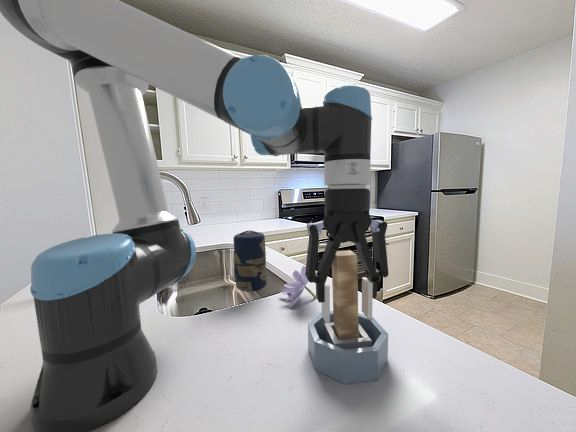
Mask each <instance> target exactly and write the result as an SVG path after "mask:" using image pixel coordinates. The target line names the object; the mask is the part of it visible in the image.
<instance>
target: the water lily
mask: <svg viewBox="0 0 576 432" xmlns="http://www.w3.org/2000/svg"><path fill="white" fill-rule="evenodd" d="M305 272H306V265H302V267H301V268H300V272H299V271H298V270H296V269H295V270H294V271H293V272H292V275H291V276H292V279H293V281H294V282H289V283H285V284H284V285H283V287H285V288H283V289H282V291H281V292H279V293H278V294H279V295H288V294H290V295H289V296H288V297H287V298H286V301H290V300H291V299H292V300H291V301H290V303H289V305H288V309H291V308H292V307H293V306H294V305H295V304H296V303H297V301H298V300H299V299H300V298H301V296H302V294H303V292H304V290H305V289H306V291H308V293H309V294H310V295H311V296H312V297H313V298H314V300H317V297H316V294H315V293H314V292H313V291H312V290H310V288H308V287H307V286H306V285H307V284H308V283H309V281H308V279H307V278H306V276H305Z"/></svg>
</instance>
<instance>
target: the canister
mask: <svg viewBox="0 0 576 432" xmlns="http://www.w3.org/2000/svg"><path fill="white" fill-rule="evenodd" d="M233 249H234V250H233V251H234V252H233V253H234V254H233V255H234V272H235V273H234V274H235V287H236V288H237V290H239V291H240V292H245V293H249V292H250V293H252V292H257V291H261V290H262V289H264V288H265V287H266V286H267V262H266V260H267V255H266V254H267V253H266V252H267V251H266V238H265V234H264V233H262V232H259V231H255V230H245V231H243V232H240V233H237V234H235V235H234V236H233Z"/></svg>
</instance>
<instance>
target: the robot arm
mask: <svg viewBox="0 0 576 432" xmlns="http://www.w3.org/2000/svg"><path fill="white" fill-rule="evenodd" d="M0 15H2V16H3V17H4V19H6V21H7V22H8V23H9V24H10V25H11V26H12V27H13V28H14V29H15V30H16V31H17V32H19V33H21V35H23V36H24V37H26V38H27V39H28V40H30V41H32V42H33V43H34V44H36V45H37V46H39V47H40V48H43V49H45V50H47V51H49V52H51V53H52V54H55V55H57V56H59V57H61V58H62V59H64V60H66V61H68V62H69V64H70V65H71V69H72V74H73V77H74V81H75V84H76V85H77V86H78V87H79V89H82V90H83V91H84V92H86V93H88V96H89V100H90V103H91V108H92V109H91V110H92V112H93V116H94V121H95V125H96V128H97V131H98V132H97V133H98V137H99V141H100V145H101V149H102V150H101V151H102V153H103V158H104V161H105V162H104V163H105V165H106V169H107V173H108V178H109V182H110V186H111V190H112V194H113V200H114V203H115V207H116V211H117V215H118V219H119V220H118V222H117V224H116V225H115V226H114V227H113V229H112V230H111V232H112V233H103V234H94V235H91V236H88V237H80V238H76V239H71V240H68V241H64V242H62V243H59V244H56V245H54V246H51V247H49V248H47V249H46V250H44V251H42V252H40V253H39V254H38V255H37V256H36V257H35V258H34V260H33V261H32V263H31V266H30V273H31V274H30V277H31V278H30V279H31V282H30V283H31V286H30V288H29V289H30V294H31V296H32V297H33V302H34V309H35V315H36V322H37V323H36V324H37V329H38V335H39V336H38V337H39V343H40V348H41V349H40V350H41V356H42V365H41V369H40V371H39V375H38V379H37V382H36V385H35V389H34V392H33V396H32V397H33V398H32V400H31V403H30V417H31V422H32V424H31V425H32V428H33V429H34V432H89V431H91V430H94V429H96V428H99V427H101V426H103V425H105V424H108V423H109V422H111V421H113V420H114V419H116V418H117V417H119V416H121V415H123V414H124V413H126V412H127V411H128V410H130V409H131V408H132V407H134V406H135V405H136V404H137V403H138V402H139V401H140V400H141V399H142V398H144V396H145V395H146V394H147V393H148V392H149V391H150V389H151V388H152V386H153V384H154V383H155V380H156V378H157V374H158V363H157V356H156V353H155V352H154V350H153V348H152V346H151V344H150V342H149V340H148V339H147V337H146V335H145V334H144V333H145V332H143V330H142V323H141V312H140V310H141V309H140V305H141V304H142V303H144V302H146V301H147V300H149V299H150V298H152V297H154V296H155V295H157V294H158V293H160V292H161V291H163V290H165V289H166V288H167V289H168V287H171V286H172V285H175V284H177V283H178V282H180V281H181V280H182V279H183V278H184V277H185V276H186V275H187V274H188V273H189V272H190V271H191V269H192V267H193V266H194V264H195V260H196V257H197V250H196V244H195V242H194V239H193V237H192V236H191V234H189V233H187V231H186V230H184V229H183V228H181V224H180V222H179V221H180V220H179V218H178V217H177V216H176V215H174V214H172V213H171V212H170V210H169V207H168V204H167V200H166V195H165V192H164V186H163V184H162V183H163V182H162V178H161V173H160V169H159V164H158V161H157V155H156V152H155V151H156V150H155V147H154V142H153V138H152V134H151V133H152V132H151V128H150V124H149V119H148V115H147V111H146V107H145V101H144V98H143V95H144V94H145V93H147V91H148V90H149V86H152V87H154V88H156V89H158V90H160V91H162V92H164V93H166V94H169V95H171V96H172V97H174V98H176V99H179V100H180V101H183V102H184V103H187V104H188V105H190V106H193V107H195V108H196V109H199V110H200V111H203V112H204V113H207V114H209V115H211V116H213V117H215V118H217V119H218V120H221V121H223V122H224V123H226V124H228V125H230V126H232V127H234V128H236V129H238V130H239V131H242V132H244V133H246V134H248V135H249V136H250V139H251V144H252V146H253V149H254V151H255V153H256V154H258V155H260V156H274V157H278V156H287V155H303V154H321V153H323V156H324V158H323V159H324V160H323V161H324V163H323V164H324V168H323V170H324V172H323V174H324V181H323V182H324V183H323V184H324V186H326V187H327V189H325V191H324V195H323V196H324V214H323V217H322V220H320V221H317V222H313V223H312V222H308V223H307V224H306V230H307V232H308V233H307V234H308V245H307V255H306V264H305V267H306V272H305V276H306V278H307V279H308V283H310V284H311V283H314V284H315V296H316V300H317V301H318V303H320V304H321V313H322V316H323V318H324V320H325V322H330V311H331V309H330V308H331V301H330V300H331V295H330V294H331V293H330V291H331V289H330V288H331V286H330V284H329V283H328V281H327V279H328V277H329V274H330V272H331V269H332V263H333V260H334V257H335V255H336V252H337V251H338V250H339V249H340V247H341V244H346V243H348V242H349V243H353V244H354V245H355V248H356V250H357V255H358V256H359V258H360V261H361V265H362V267H363V270H364V272H365V276H366V277H361V312H362V314H363V315H365V316H366V317H367V318H368V319H370V318H372V317H373V299H376V298H377V297H378V284H380V282H381V281H382V279H381V278H388V276H389V266H388V254H387V244H386V232H387V228H388V222H386V221H385V220H379V219H375V220H374V219H372V217H371V215H370V209H371V190H370V188H367V186H369V185H371V164H372V163H371V155H372V153H371V148H372V144H371V143H372V120H373V116H372V107H371V106H372V105H371V101H372V99H371V94H370V91H368V89H367V88H365V87H363V86H360V85H354V84H347V85H346V84H345V85H340V87H334V88H331V89H329V90H328V91H327V92H326V93H325V94H324V96H323V101H322V104H320V105H319V104H318V105H313V106H302V102H301V97H300V92H299V90H298V87H297V84H296V82H295V81H294V79H293V78H292V77H291V75H290V73H289V72H288V70H287V68H286V67H285V66H284V65H283V64H282V63H281V62H280V61H278V60H277V59H275V58H273V57H272V56H269V55H267V54H266V55H265V54H259V55H257V54H254V55H248V56H245V57H240V56H238V55H236V54H234V53H232V52H230V51H227V50H226V49H224V48H222V47H220V46H217V45H214V44H212V43H210V42H208V41H206V40H205V39H202V38H201V37H197V36H196V35H193V34H192V33H189V32H187V31H186V30H183V29H182V28H179V27H177V26H174V25H172V24H170V23H168V22H165V21H164V20H161V19H159V18H158V17H155V16H153V15H152V14H148V13H147V12H144V11H143V10H141V9H138V8H136V7H134V6H132V5H130V4H128V3H126V2H124V1H121V0H0ZM369 228H370V231H371V238H372V239H371V240H372V247H373V258H374V259H373V258H372V255H371V253H370V249H369V246H368V244H369V243H368V240H367V237H366V233H367V231H369V230H368V229H369ZM323 229H325V230H326V232H327V234H328V238H327V240H326V246H325V248H324V251H323V254H322V257H321V260H320V263H319V264H317V263H318V257H319V256H318V255H319V245H320V235H322V233H323ZM317 265H318V268H317Z"/></svg>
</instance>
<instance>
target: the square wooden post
mask: <svg viewBox="0 0 576 432" xmlns="http://www.w3.org/2000/svg"><path fill="white" fill-rule="evenodd" d="M331 275H332V277H331V278H332V282H331V283H332V311H333V318H334V333H335V335H336V337H337V338H338V340H343V339H353V338H359V325H358V313H359V293H358V292H359V285H358V280H359V279H358V254H356V253H355V252H354V251H352V250H351V249H348V250H337V252H336V255H335V257H334V260H333V263H332V266H331Z"/></svg>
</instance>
